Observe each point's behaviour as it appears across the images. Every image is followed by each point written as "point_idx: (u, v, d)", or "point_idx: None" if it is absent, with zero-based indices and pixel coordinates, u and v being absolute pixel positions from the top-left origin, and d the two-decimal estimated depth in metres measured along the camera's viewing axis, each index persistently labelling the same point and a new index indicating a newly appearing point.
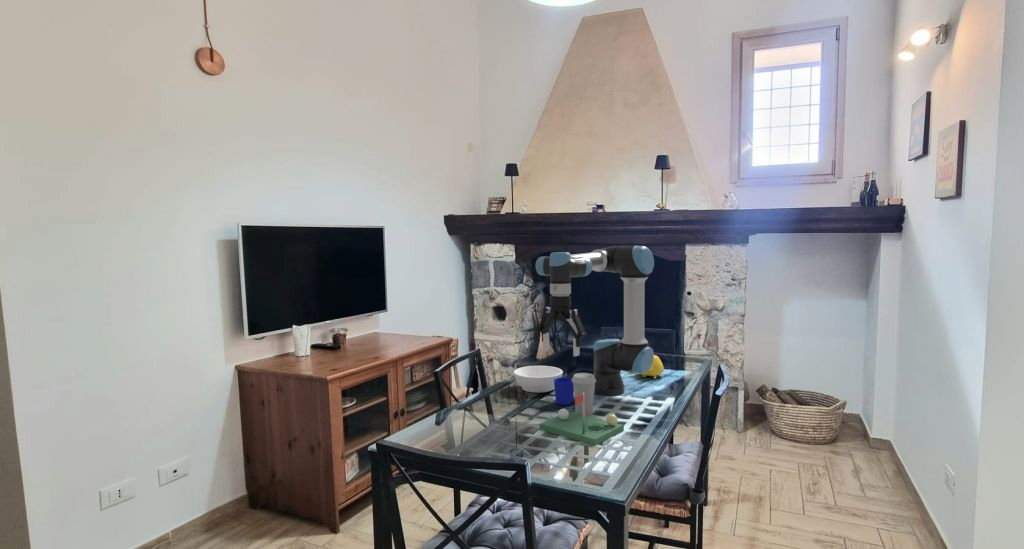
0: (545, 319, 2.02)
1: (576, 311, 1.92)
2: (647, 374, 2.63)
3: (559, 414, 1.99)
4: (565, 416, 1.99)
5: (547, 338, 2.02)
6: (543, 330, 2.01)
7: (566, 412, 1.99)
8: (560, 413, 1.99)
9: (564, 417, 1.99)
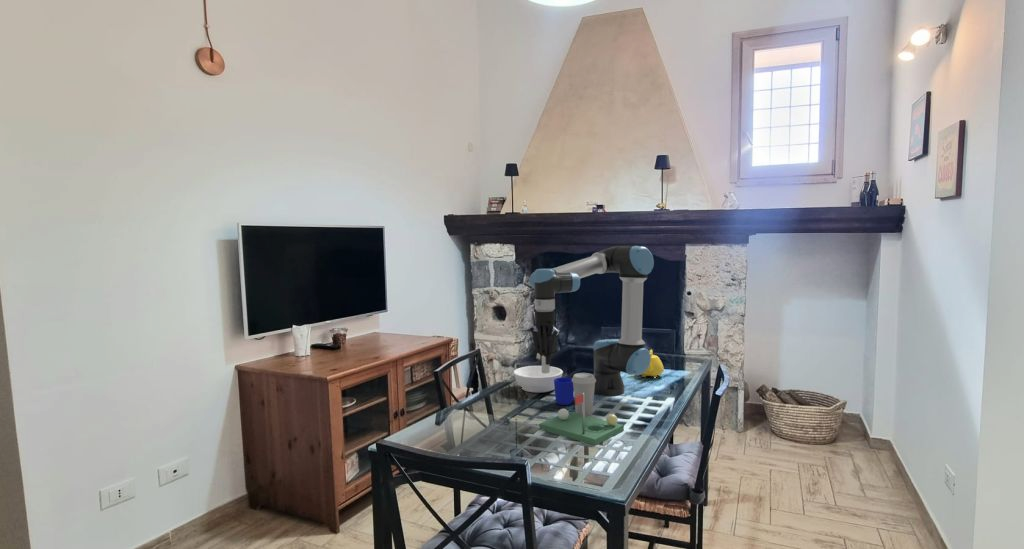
0: (537, 338, 2.06)
1: (558, 332, 2.00)
2: (647, 374, 2.63)
3: (559, 414, 1.99)
4: (565, 416, 1.99)
5: None
6: (540, 351, 2.04)
7: (566, 412, 1.99)
8: (560, 413, 1.99)
9: (564, 417, 1.99)
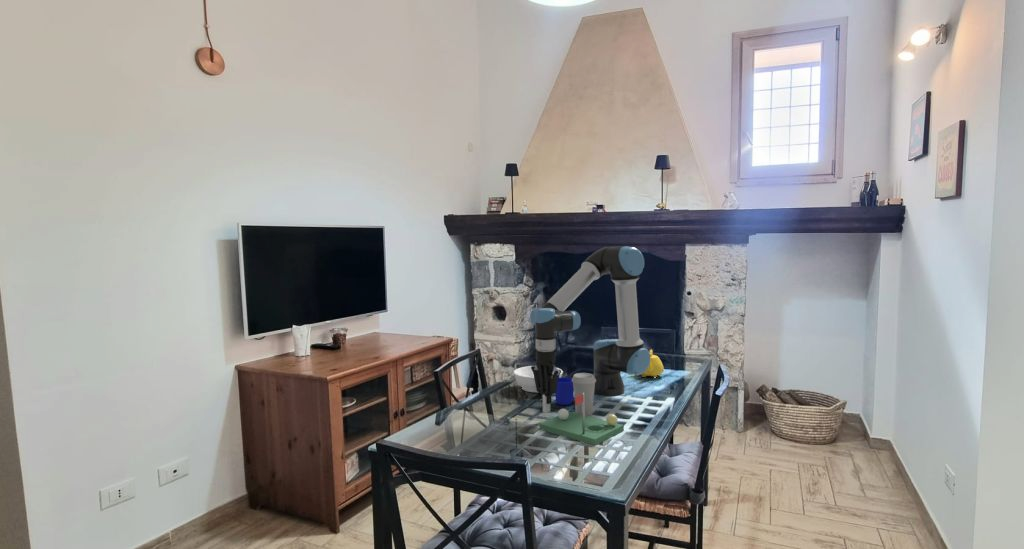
0: (538, 377, 2.07)
1: (559, 373, 2.01)
2: (647, 374, 2.63)
3: (559, 414, 1.99)
4: (565, 416, 1.99)
5: None
6: (541, 390, 2.05)
7: (566, 412, 1.99)
8: (560, 413, 1.99)
9: (564, 417, 1.99)
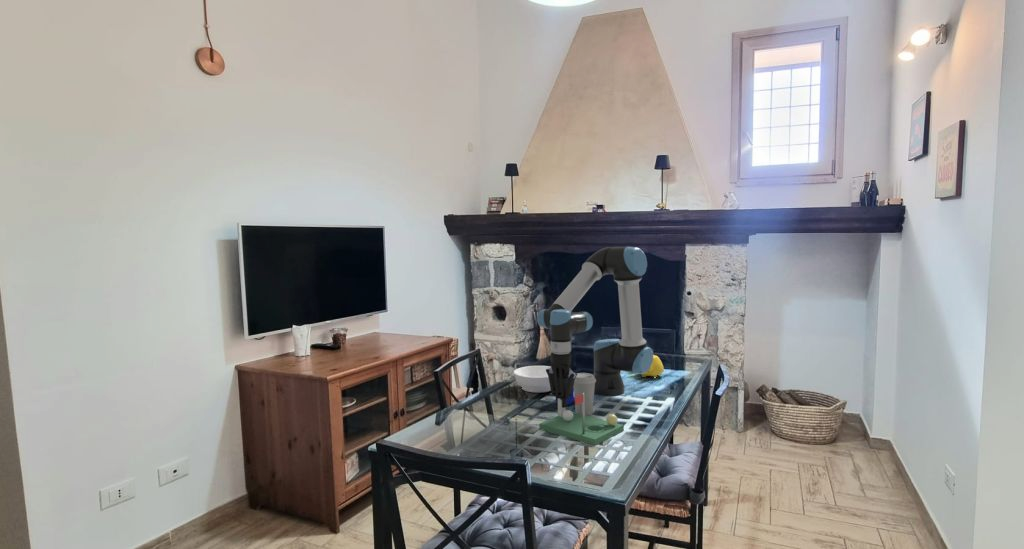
0: (553, 380, 2.02)
1: (575, 376, 1.96)
2: (647, 374, 2.63)
3: (564, 416, 1.97)
4: (567, 420, 1.98)
5: None
6: (556, 394, 2.00)
7: (571, 419, 1.98)
8: (566, 416, 1.97)
9: (566, 420, 1.98)
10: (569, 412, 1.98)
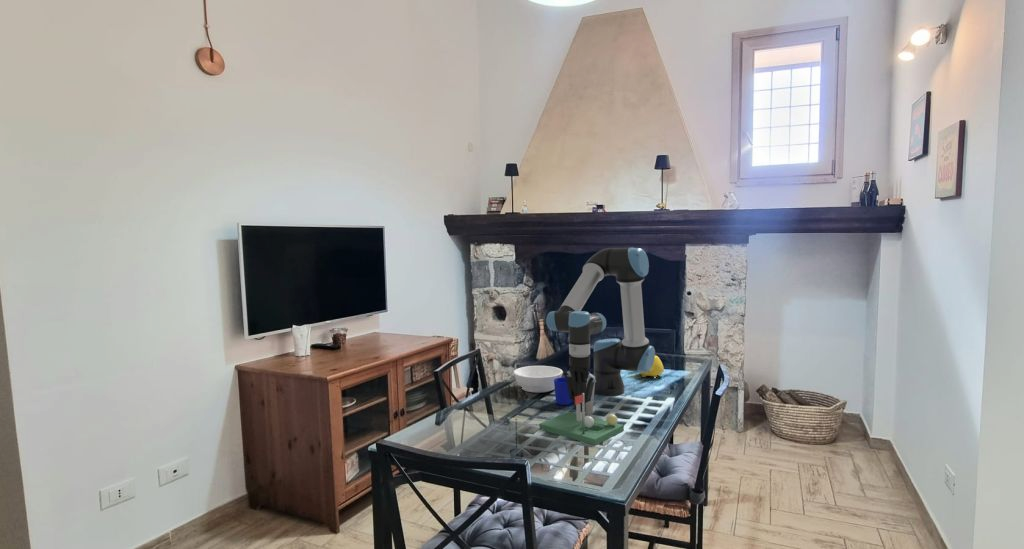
0: (571, 384, 1.97)
1: (594, 379, 1.90)
2: (647, 374, 2.63)
3: None
4: (590, 421, 1.90)
5: None
6: None
7: (590, 417, 1.91)
8: None
9: (590, 422, 1.90)
10: None
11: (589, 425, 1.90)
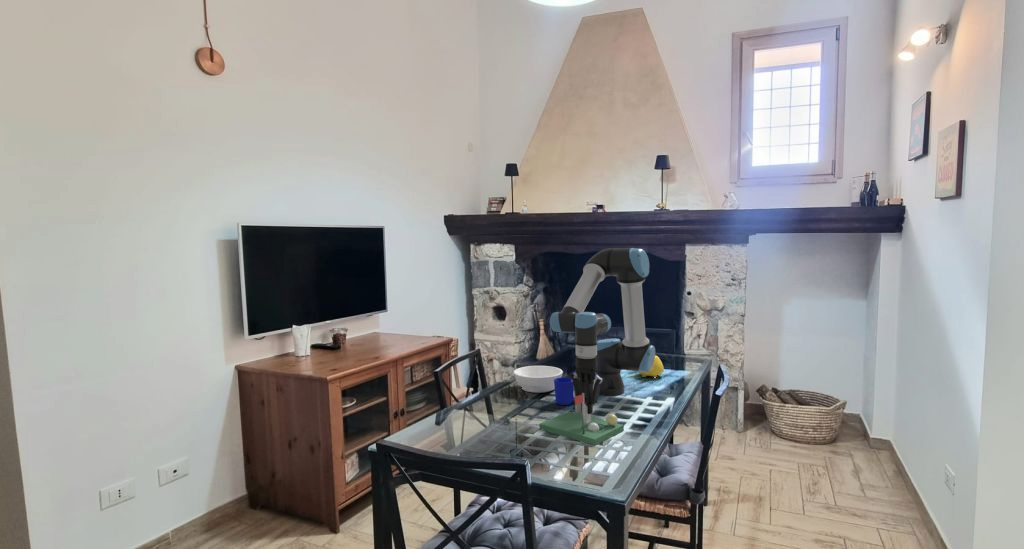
0: (578, 385, 1.95)
1: (601, 381, 1.88)
2: (647, 374, 2.63)
3: (592, 427, 1.89)
4: None
5: None
6: None
7: None
8: (594, 428, 1.89)
9: None
10: (596, 424, 1.90)
11: None
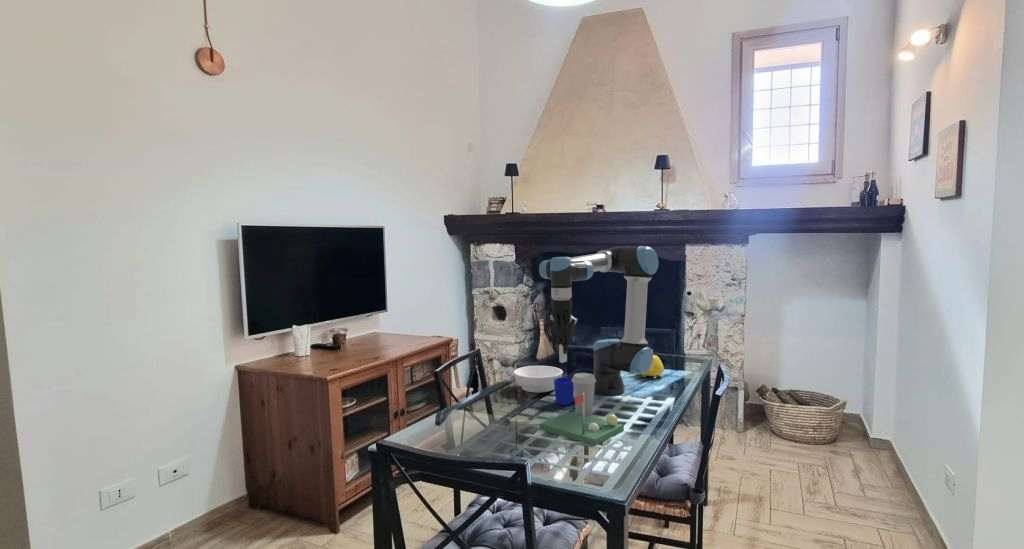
0: (554, 327, 2.04)
1: (576, 321, 1.98)
2: (647, 374, 2.63)
3: (592, 427, 1.89)
4: None
5: None
6: (558, 340, 2.02)
7: None
8: (594, 428, 1.89)
9: None
10: (596, 424, 1.90)
11: None
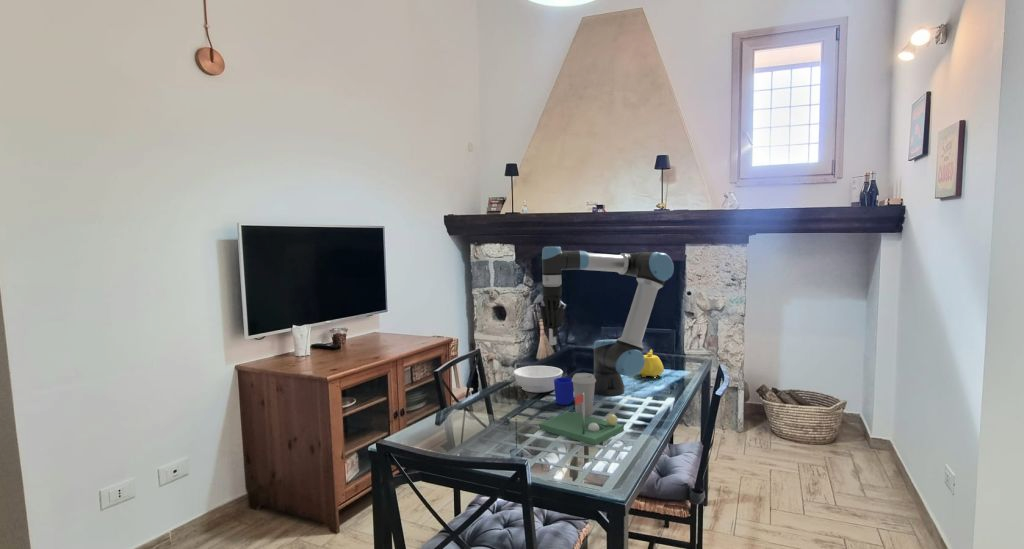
0: (545, 312, 2.19)
1: (564, 306, 2.12)
2: (647, 374, 2.63)
3: (592, 427, 1.89)
4: None
5: None
6: (548, 324, 2.17)
7: None
8: (594, 427, 1.89)
9: None
10: (596, 424, 1.90)
11: None
